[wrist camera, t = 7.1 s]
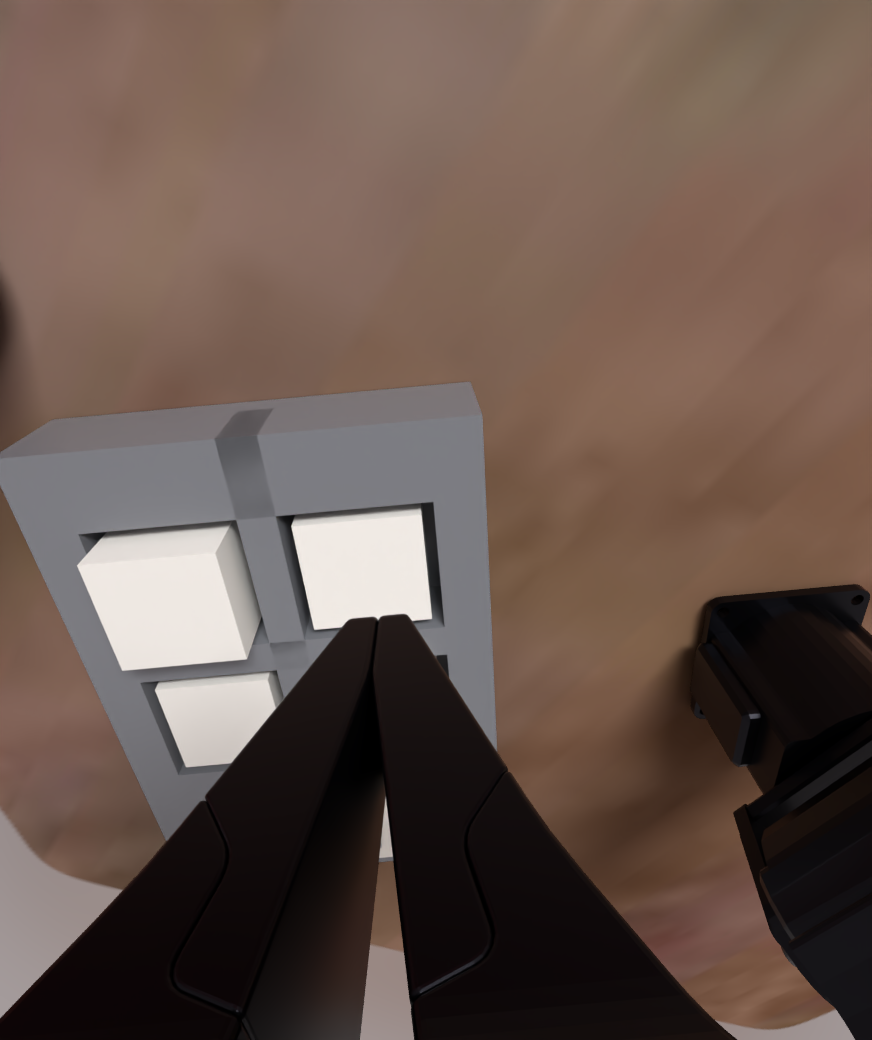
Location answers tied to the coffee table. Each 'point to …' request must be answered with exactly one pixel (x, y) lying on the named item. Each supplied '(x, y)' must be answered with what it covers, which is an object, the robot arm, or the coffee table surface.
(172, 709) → the button
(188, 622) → the button
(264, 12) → the coffee table surface
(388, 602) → the button
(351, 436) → the panel
